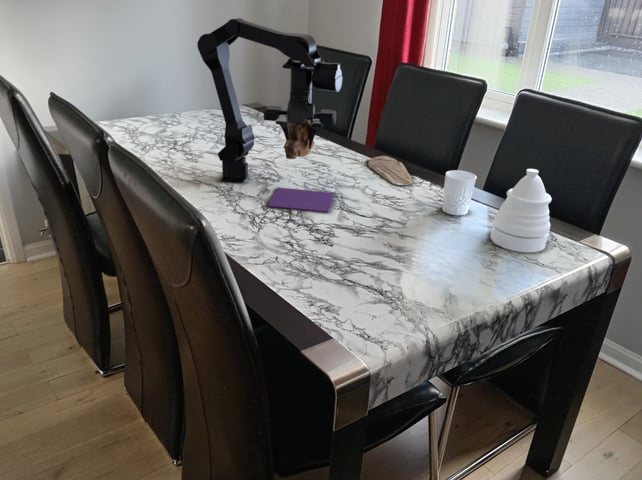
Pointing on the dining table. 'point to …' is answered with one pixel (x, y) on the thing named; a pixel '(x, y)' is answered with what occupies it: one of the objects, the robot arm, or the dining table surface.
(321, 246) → the dining table surface
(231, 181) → the robot arm
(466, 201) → the white cup
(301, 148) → the wooden carving
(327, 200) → the cloth
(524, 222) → the honey pot
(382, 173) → the fish fossil
